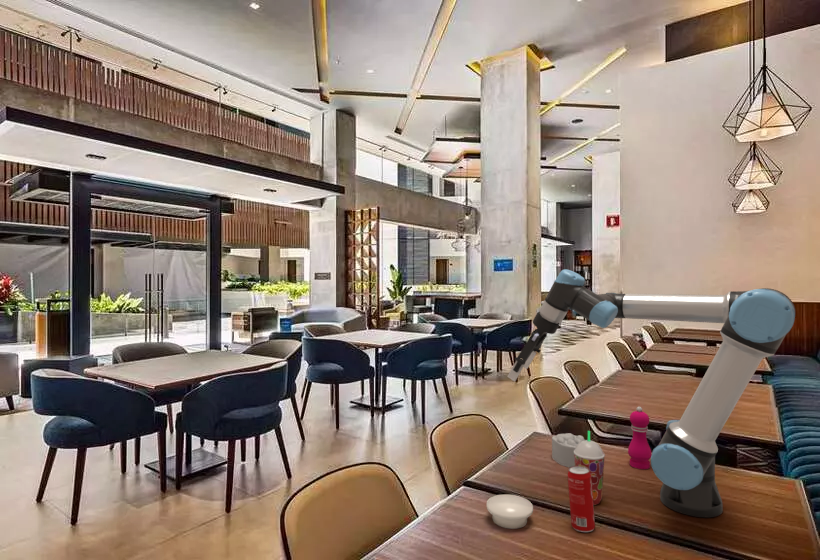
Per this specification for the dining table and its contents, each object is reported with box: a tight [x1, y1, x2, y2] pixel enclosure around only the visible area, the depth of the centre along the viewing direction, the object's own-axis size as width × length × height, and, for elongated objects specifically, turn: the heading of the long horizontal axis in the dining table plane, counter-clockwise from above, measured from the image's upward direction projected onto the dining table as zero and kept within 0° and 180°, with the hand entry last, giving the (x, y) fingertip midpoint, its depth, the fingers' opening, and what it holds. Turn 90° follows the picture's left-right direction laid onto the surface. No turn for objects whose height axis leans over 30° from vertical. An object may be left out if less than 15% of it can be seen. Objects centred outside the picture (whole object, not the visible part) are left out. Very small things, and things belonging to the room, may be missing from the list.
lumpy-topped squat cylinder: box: [551, 432, 585, 469], centre depth 167 cm, size 10×13×9 cm
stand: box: [486, 494, 534, 530], centre depth 128 cm, size 12×12×4 cm
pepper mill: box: [627, 406, 652, 470], centre depth 163 cm, size 7×7×20 cm
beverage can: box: [567, 466, 596, 533], centre depth 124 cm, size 6×6×15 cm
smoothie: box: [574, 430, 606, 506], centre depth 138 cm, size 8×8×20 cm
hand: (517, 372), depth 154 cm, fingers open, 13 cm apart
